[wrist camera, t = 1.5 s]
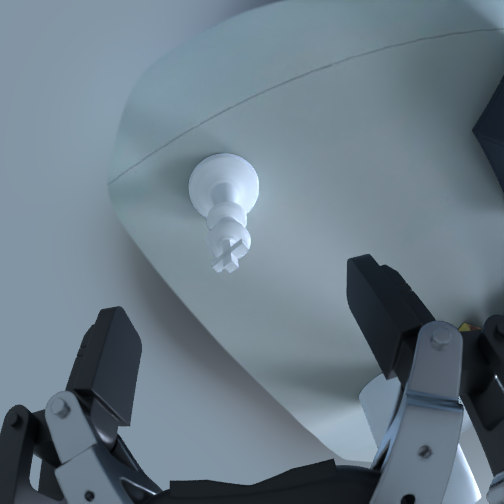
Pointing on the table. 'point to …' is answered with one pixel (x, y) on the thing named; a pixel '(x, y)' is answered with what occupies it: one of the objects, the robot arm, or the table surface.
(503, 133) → the tray
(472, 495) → the tall pillar cylinder
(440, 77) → the table surface
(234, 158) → the chess piece
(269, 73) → the table surface
